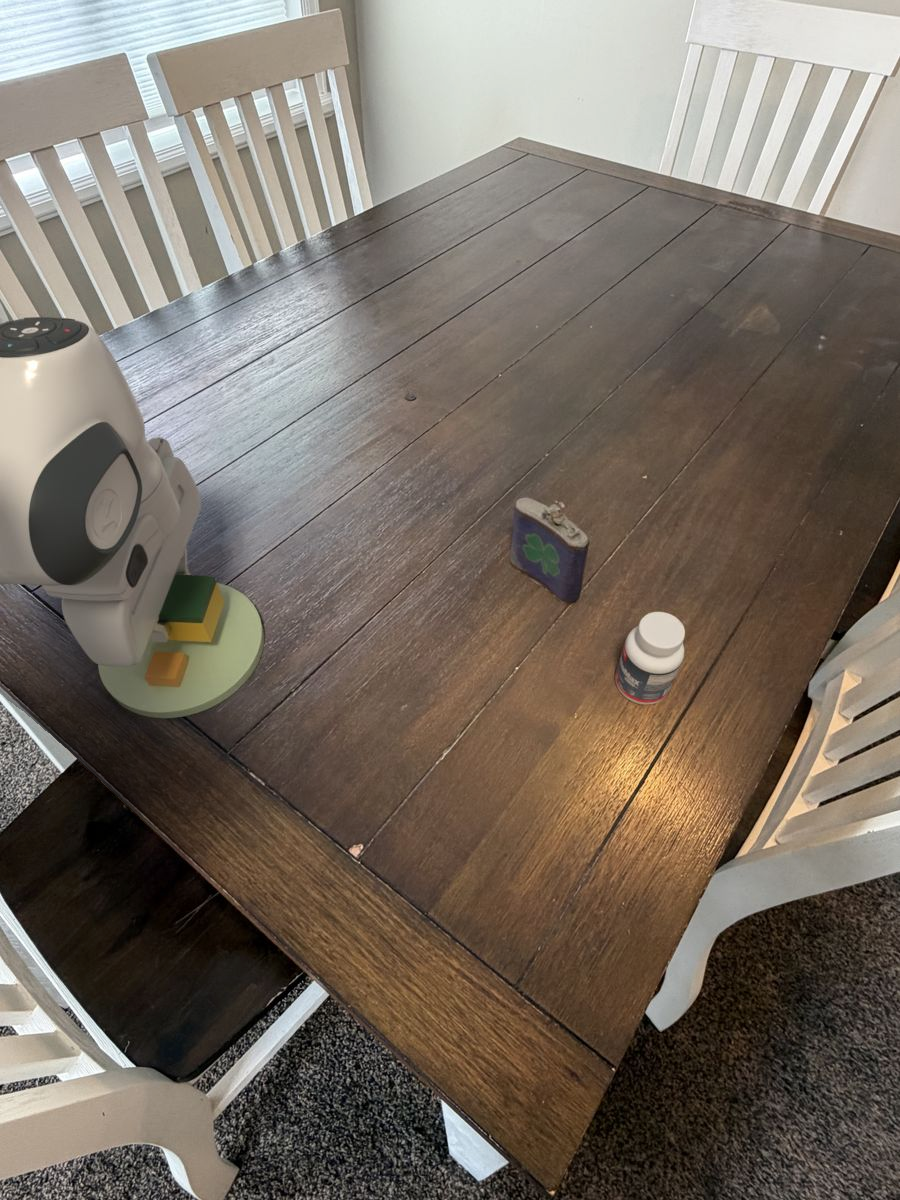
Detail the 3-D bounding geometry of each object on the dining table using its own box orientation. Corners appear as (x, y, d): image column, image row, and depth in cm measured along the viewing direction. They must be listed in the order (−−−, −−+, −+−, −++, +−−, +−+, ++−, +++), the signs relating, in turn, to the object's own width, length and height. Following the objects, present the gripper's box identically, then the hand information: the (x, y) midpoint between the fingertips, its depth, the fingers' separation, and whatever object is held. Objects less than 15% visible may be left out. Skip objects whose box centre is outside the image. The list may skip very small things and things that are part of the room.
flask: (504, 562, 80) (510, 490, 72) (522, 548, 82) (530, 476, 73) (569, 609, 76) (583, 539, 68) (587, 594, 77) (603, 523, 69)
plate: (186, 747, 67) (182, 741, 66) (67, 671, 72) (62, 664, 71) (296, 627, 75) (294, 620, 74) (183, 566, 81) (180, 559, 80)
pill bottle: (606, 666, 72) (622, 611, 65) (655, 655, 73) (676, 599, 66) (627, 711, 69) (645, 659, 62) (678, 700, 69) (702, 646, 62)
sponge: (129, 638, 70) (114, 613, 67) (146, 598, 73) (132, 572, 70) (211, 642, 70) (199, 617, 67) (224, 601, 73) (213, 575, 70)
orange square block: (179, 687, 69) (175, 678, 68) (149, 685, 70) (143, 677, 68) (188, 661, 71) (184, 652, 70) (159, 659, 71) (153, 650, 70)
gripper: (125, 424, 66) (172, 530, 77) (30, 601, 53) (102, 698, 64) (193, 427, 66) (231, 533, 77) (113, 605, 53) (172, 702, 64)
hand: (171, 610), depth 70 cm, fingers closed on sponge, 5 cm apart
